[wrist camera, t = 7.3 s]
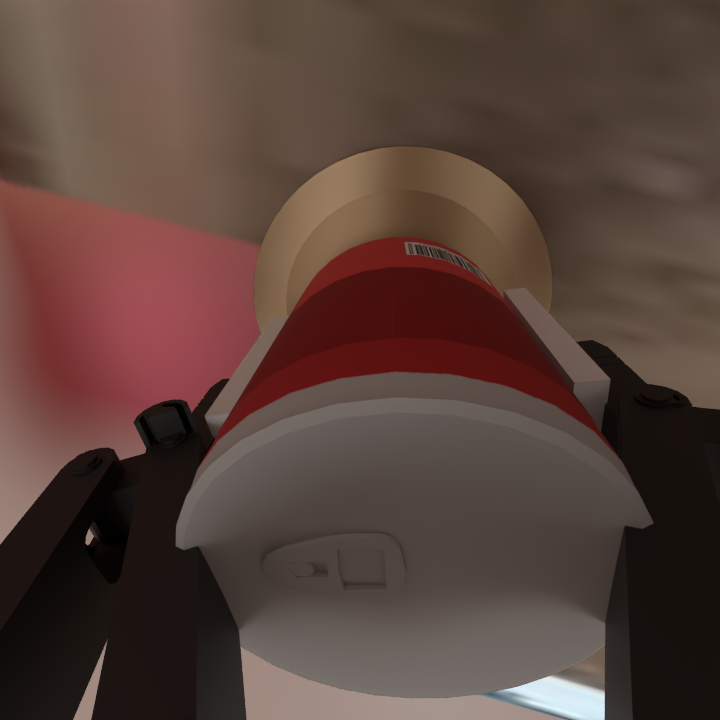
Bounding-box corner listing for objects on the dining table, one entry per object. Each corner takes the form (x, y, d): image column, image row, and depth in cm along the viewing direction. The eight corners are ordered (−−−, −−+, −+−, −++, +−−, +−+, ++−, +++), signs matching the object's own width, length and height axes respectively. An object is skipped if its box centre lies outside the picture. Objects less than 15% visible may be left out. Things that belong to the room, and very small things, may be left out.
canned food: (267, 272, 16) (71, 474, 6) (473, 197, 14) (655, 313, 4) (340, 426, 19) (286, 720, 9) (515, 380, 17) (674, 682, 8)
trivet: (555, 118, 15) (564, 116, 14) (539, 409, 21) (545, 420, 20) (222, 174, 17) (214, 176, 16) (293, 429, 23) (290, 440, 22)
